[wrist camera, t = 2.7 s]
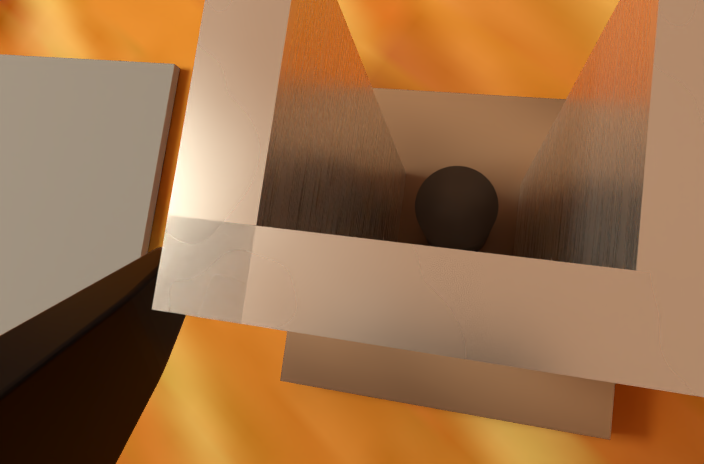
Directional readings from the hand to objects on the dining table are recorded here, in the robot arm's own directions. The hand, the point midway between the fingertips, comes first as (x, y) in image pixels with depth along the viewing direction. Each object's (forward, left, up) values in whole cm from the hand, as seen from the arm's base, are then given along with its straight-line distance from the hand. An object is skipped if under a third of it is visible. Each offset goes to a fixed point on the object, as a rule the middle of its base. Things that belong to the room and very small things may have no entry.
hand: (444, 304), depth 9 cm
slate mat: (+6, +16, -9) cm, 19 cm away
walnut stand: (+2, 0, -9) cm, 10 cm away
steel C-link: (+2, 0, -8) cm, 9 cm away
